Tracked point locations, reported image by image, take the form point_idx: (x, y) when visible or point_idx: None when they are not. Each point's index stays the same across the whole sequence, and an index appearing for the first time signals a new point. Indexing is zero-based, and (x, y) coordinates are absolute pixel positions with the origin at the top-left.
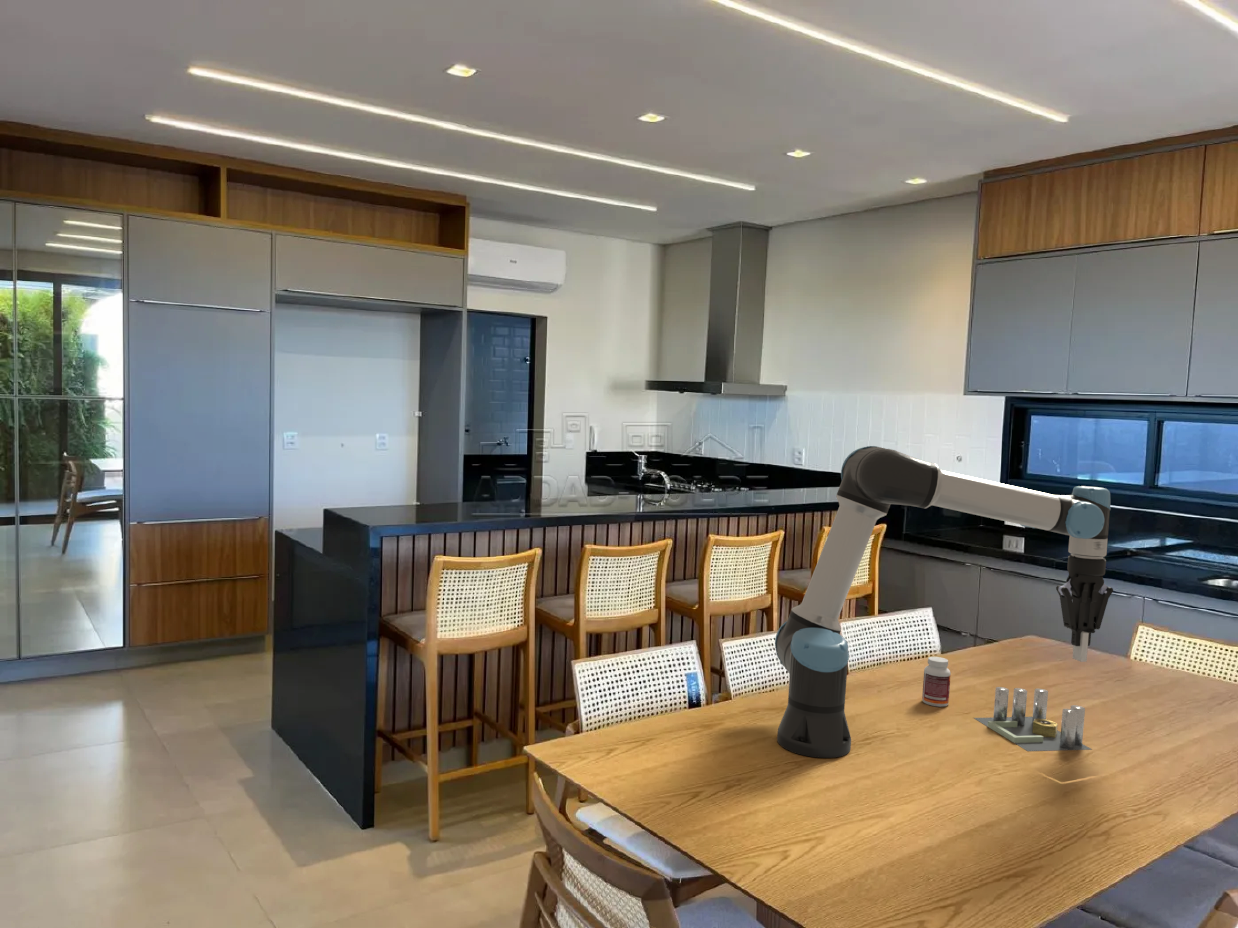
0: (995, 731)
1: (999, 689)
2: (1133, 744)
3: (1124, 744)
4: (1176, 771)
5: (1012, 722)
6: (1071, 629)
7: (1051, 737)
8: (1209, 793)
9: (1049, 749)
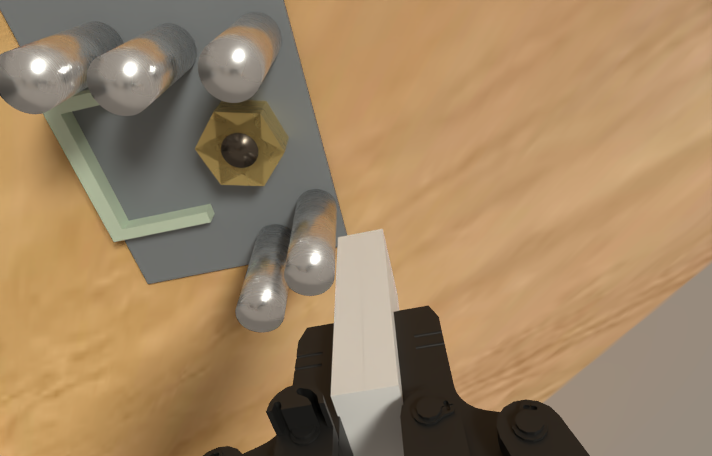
0: None
1: (10, 96)
2: (523, 168)
3: (491, 173)
4: (504, 330)
5: None
6: (275, 444)
7: None
8: None
9: (215, 264)
